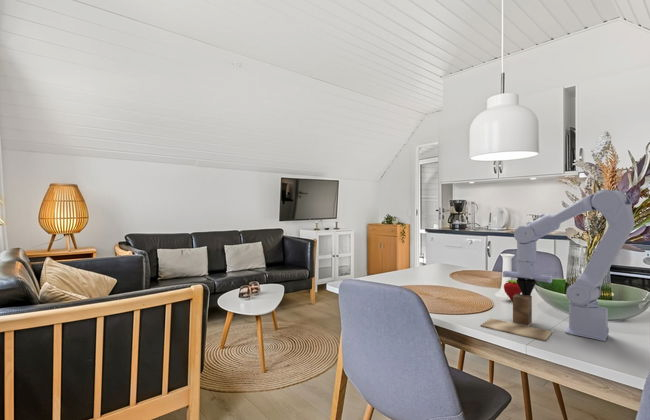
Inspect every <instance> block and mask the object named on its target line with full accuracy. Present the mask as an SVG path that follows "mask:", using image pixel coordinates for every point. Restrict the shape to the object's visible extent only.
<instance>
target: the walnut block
mask: <svg viewBox="0 0 650 420" xmlns="http://www.w3.org/2000/svg"><path fill="white" fill-rule="evenodd" d="M532 298H533V296H532V295H530V296H528V295H522V293H520V294H516V295H514V296H513V300H512V323H515V324H520V325H525V326H529V327H530V326H531V324H532V322H533V314H532V313H533V311H532V310H533V304H532V303H533V302H532V301H533V299H532Z"/></svg>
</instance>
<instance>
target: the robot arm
mask: <svg viewBox="0 0 650 420" xmlns="http://www.w3.org/2000/svg"><path fill="white" fill-rule="evenodd" d="M632 207H633V202H632V200H631V199H630V198H629V196H628V195H626V193H625V192H623V191H621V190H617V189H615V190H611V189H602V190H598V191H596V192H595V193H592V194H589V195H587V196H585V197H583V198H581V199H579V200H577V201H576V202H574V203H572V204H570V205H569V206H567V207H565V208H563V209H561V210H560V211H558V212H557V213H555V214H551V213H546V214H545V213H541V214H540V215H538V216H539V217H538V218H537V219H535V220H533V221H528V222H526V226H525V225H519V226H518V227H517V228H516V229H515V231H514V233H513V237H514V239H515V241H516V271H512V270H509V271H508V270H503V271H502V277H503V278H511V279H516V280H517V284H518V286H519V287H520V290H521V295H528V296H532V293H533V289H534V287H535V286H536V284H537V282H543V283H548V284H551V283H553V276H552V275H545V274H539V273H537V242H538V241H539V239H540V238H543V237H545V236H547V235H549V234H552V233H553V232H555V231H557V230H559V229H560V226H561V224H562V223H564V222H566V221H568V220H570V219H572V218H575V217H577V216H579V215H581V214H583V213H586V212H591V211H593V212H594V211H597V212H599V213H600V214H601V215H602V216H603V217H604V218H605V220H606V222H607V223H608V228H607V230H606V231H605V233H604V235H602V238H601V240H600V242H599V243H598V245H597V248H595V251H594V252H593V254H592V255H591V256H590V257H591V258H590V259H589V261H588V263H587V265H586V266H585V268H584V270H583V271H582V273H581V274H580V275H579V276H578V277H577V279H575V281H574V283H572V284H571V285H569V286H567V288H566V291H565V292H566V293H565V294H566V297H567V300H568V327H567V328H566V330H565V333H566V334H570V335H574V336H578V337H583V338H587V339H592V340H597V341H598V340H599V341H601V342H606V341H607V338H608V335H609V331H610V330H609V320H608V319H609V316H608V315H609V313H608V312H609V311H608V308H607V307H604V306H600V305H599V302H598V299H599V298H600V297H601V295H602V289H601V288H602V285H603V284H604V278H605V277H606V275H607V273H608V271H609V270H610V269H611V266H613V263H614V261H616V258H617V257H618V254H619V253H620V251H621V250H622V248H623V247H624V245H625V243H626V241H627V240H628V238H629V237H630V235H631V233H632V231H633V230H634V228H635V226H636V222H635V219H634V212H633V208H632Z"/></svg>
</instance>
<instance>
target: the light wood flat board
mask: <svg viewBox="0 0 650 420" xmlns="http://www.w3.org/2000/svg"><path fill="white" fill-rule="evenodd" d="M480 327H483V328H486V329H491V330H495V331H499V332H503V333H506V334H507V333H508V334H512V335H515V336H521V337H525V338H530V339H533V340H538V341H542V342H547V340H548V339H549V338H550V336H551V335H552V334H553V331H552V330H547V329H544V328H543V329H542V328H538V327H534V326H530V325H529V326H525V325H520V324H515V323H513V322H510V321H506V320H500V319H496V318H493V317H491V318H490V317H489V319H487V320H486V321H484V322H483V323H482V324H480Z"/></svg>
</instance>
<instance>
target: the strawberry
mask: <svg viewBox="0 0 650 420" xmlns="http://www.w3.org/2000/svg"><path fill="white" fill-rule="evenodd" d="M503 290H504V293H505V294H506V296H508V298H509V299H510V301H513V296H514V295H516V294H522V292H521V290H520V287H519V286H518V284H517V279H515V280H513V278H511V279H508V280H506V282H505V283H504V284H503Z"/></svg>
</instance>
